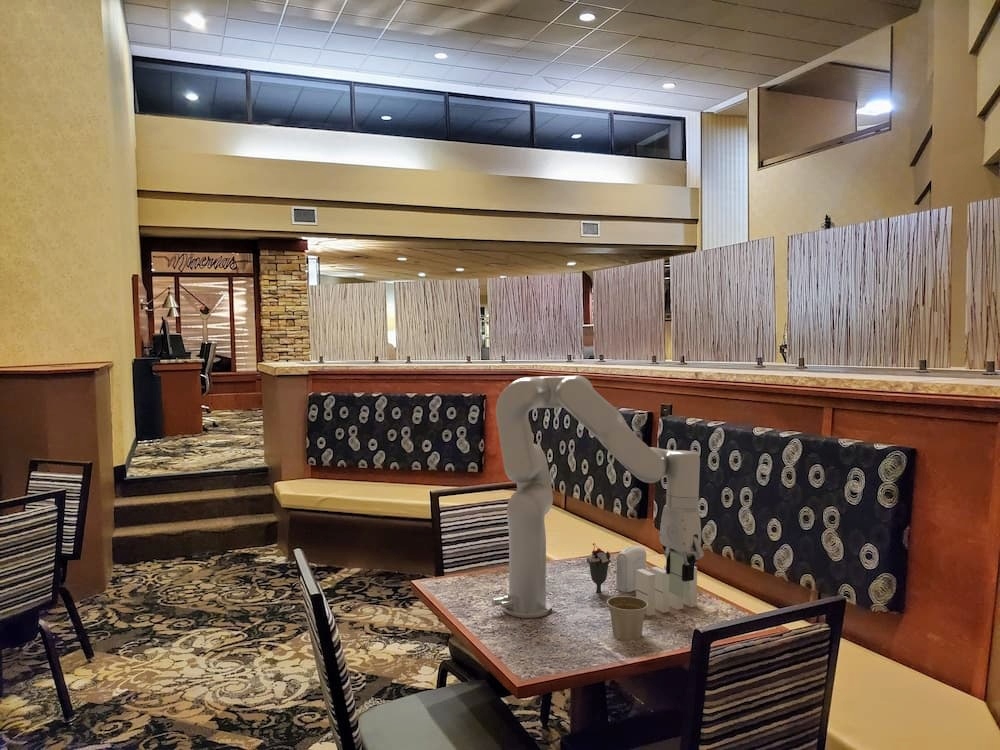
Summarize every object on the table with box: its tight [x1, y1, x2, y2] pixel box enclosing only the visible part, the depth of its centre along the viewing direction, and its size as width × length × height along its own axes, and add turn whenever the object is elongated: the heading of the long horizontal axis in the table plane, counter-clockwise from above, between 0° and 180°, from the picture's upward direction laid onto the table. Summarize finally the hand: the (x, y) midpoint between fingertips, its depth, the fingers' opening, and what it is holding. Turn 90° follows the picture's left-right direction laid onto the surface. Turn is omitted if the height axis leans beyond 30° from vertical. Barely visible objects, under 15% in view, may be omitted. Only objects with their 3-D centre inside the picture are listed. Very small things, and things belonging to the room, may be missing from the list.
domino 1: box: [635, 569, 655, 616], centre depth 170 cm, size 2×5×10 cm, turn 26°
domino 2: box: [649, 566, 669, 613], centre depth 172 cm, size 2×5×10 cm, turn 26°
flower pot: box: [606, 595, 648, 642], centre depth 155 cm, size 9×9×9 cm
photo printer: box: [616, 545, 647, 593], centre depth 189 cm, size 10×4×12 cm, turn 134°
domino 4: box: [683, 565, 698, 607], centre depth 176 cm, size 2×5×10 cm, turn 26°
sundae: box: [586, 542, 612, 595], centre depth 184 cm, size 7×7×15 cm
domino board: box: [644, 603, 706, 621], centre depth 172 cm, size 23×9×1 cm, turn 116°
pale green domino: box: [669, 551, 690, 598], centre depth 163 cm, size 2×5×10 cm, turn 26°
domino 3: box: [663, 564, 683, 610], centre depth 174 cm, size 2×5×10 cm, turn 26°
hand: (679, 576), depth 163 cm, fingers closed on pale green domino, 4 cm apart
